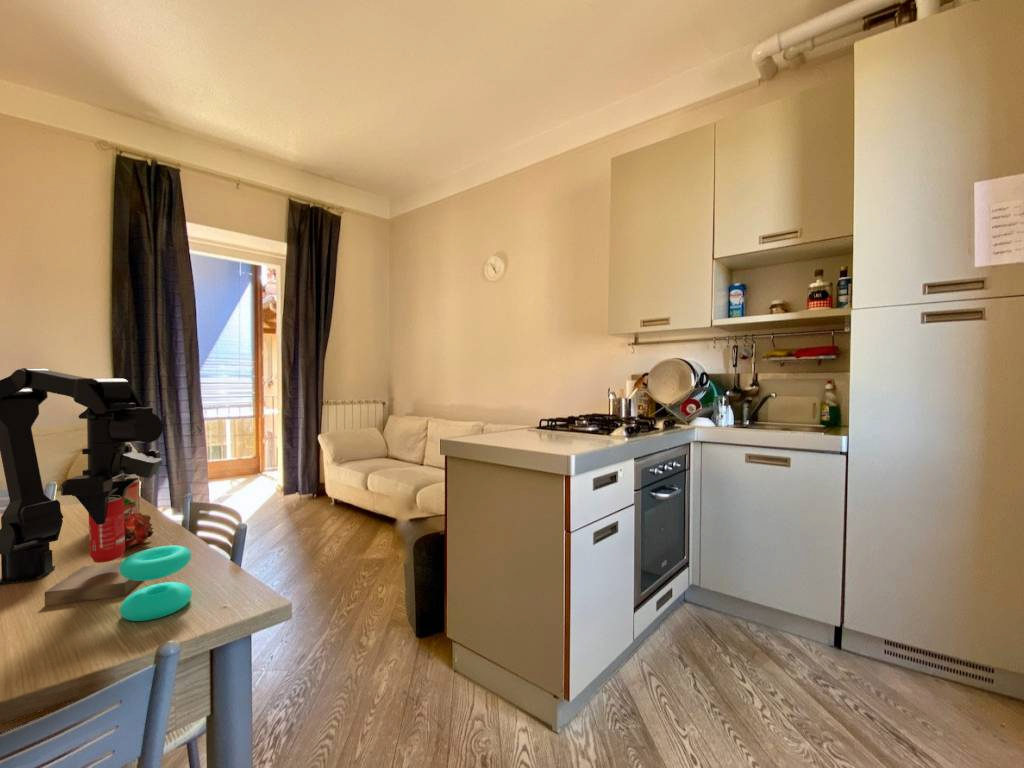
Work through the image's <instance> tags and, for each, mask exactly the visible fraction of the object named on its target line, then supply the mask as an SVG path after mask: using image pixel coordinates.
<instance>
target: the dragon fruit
mask: <svg viewBox="0 0 1024 768" xmlns="http://www.w3.org/2000/svg"><path fill="white" fill-rule="evenodd" d="M150 520H151V516H150V515H149V514H143V513H142V512H141V511H140V512H135V513H132V514H130V513H125V514H124V532H125V550H126V549H129V548H131V547H132V546H133V545H135V546H136V545H141V544H143V543H145V541H146V540H148V538H150V537H152V536H153V534H154V533H155V531H154V530H153V529H154V527H153V524H152V523H151V522H150Z"/></svg>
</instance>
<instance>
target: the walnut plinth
mask: <svg viewBox="0 0 1024 768" xmlns="http://www.w3.org/2000/svg"><path fill="white" fill-rule="evenodd" d="M122 562H123V561H122ZM122 562H114V563H113V562H112V563H100V564H95V565H94V564H93V565H83V566H82V567H81V568H79V569H77V570H76V571H75V572H73V573H71V574H70V575H68V576H66V577H64V579H62V580H61V581H59V582H57V583H55V585H53V586H52V587H50V588H49V589H47V590H45V591H44V606H45V607H46V606H55V605H64V604H70V603H79V602H86V601H93V600H94V601H95V600H103V599H112V598H117V597H118V598H119V597H125V596H127V595H128V594H129V593H130V592H131V591H132V590H133V589H135V588H136V587H137V586H138V585H140V583H141V582H142V581H136V580H130V579H127V578H125V577H123V576H122V575H121V573H120V565H121V563H122Z"/></svg>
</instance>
